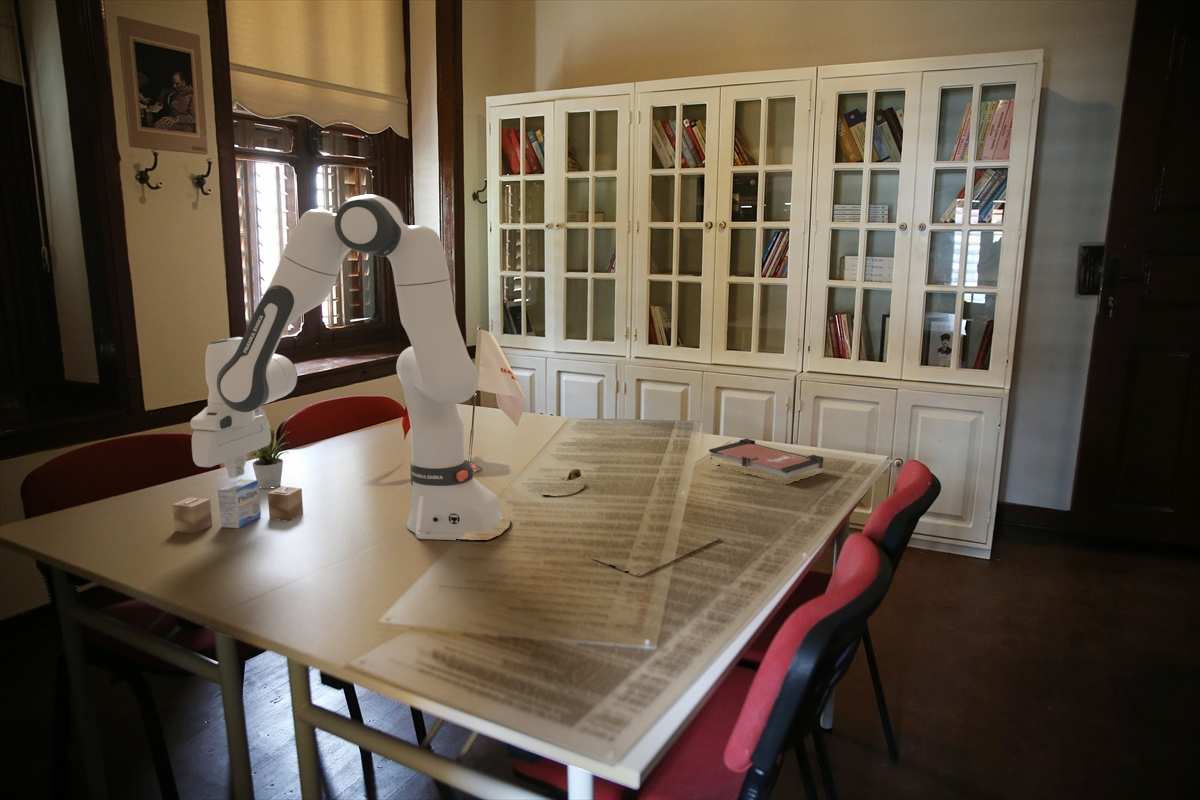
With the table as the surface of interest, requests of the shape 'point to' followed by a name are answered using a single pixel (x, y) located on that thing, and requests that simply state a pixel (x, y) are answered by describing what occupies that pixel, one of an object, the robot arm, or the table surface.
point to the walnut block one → (192, 515)
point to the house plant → (268, 464)
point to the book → (767, 458)
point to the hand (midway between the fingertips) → (236, 476)
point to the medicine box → (239, 503)
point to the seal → (573, 474)
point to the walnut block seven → (285, 503)
